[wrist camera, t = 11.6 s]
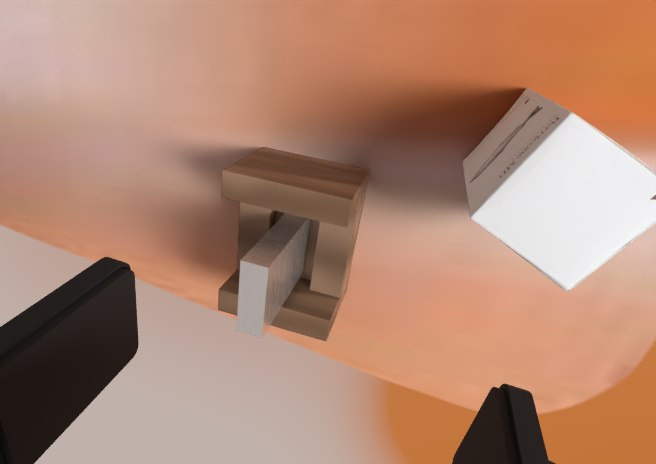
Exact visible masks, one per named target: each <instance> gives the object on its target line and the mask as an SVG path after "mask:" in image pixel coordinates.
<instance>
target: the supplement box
mask: <svg viewBox="0 0 656 464" xmlns="http://www.w3.org/2000/svg"><path fill="white" fill-rule="evenodd" d="M462 164H463V171H464V178H465V185H466V192H467V198H468V205H469V212H470V218H471V219H472V220H473V221H475V222H476V223H478V224H479V225H480V226H482V227H483V228H484V229H486V230H487V231H489V232H490V233H491V234H493V235H494V236H495V237H497V238H498V239H499V240H500V241H502V242H503V243H504V244H506V245H507V246H508V247H509V248H511V249H512V250H513V251H515V252H516V253H517V254H518V255H520V256H521V257H522V258H524V259H525V260H526V261H527V262H529V263H530V264H531V265H533V266H534V267H535V268H536V269H538V270H539V271H540V272H542V273H543V274H544V275H546V276H547V277H548V278H549V279H551V280H552V281H553V282H555V283H556V284H557V285H558V286H560V287H561V288H562V289H563V290H566V291H568V290H570V289H572V288H574V287H575V286H576V285H577V284H579V283H580V282H581V281H582V280H584V279H585V278H586V277H587V276H588V275H590V274H591V273H592V272H594V271H595V270H596V269H597V268H599V267H600V266H601V265H602V264H604V263H605V262H606V261H607V260H609V259H610V258H611V257H613V256H614V255H615V254H616V253H618V252H619V251H620V250H622V249H623V248H625V247H626V246H627V245H628V244H630V243H631V242H632V241H633V240H634V239H635V238H637V237H638V236H639V235H640V234H642V233H643V232H644V231H645V230H647V229H648V228H649V227H650V226H652V225H653V224H654V223H656V171H654V170H653V169H652V168H650V167H649V166H648V165H646V164H645V163H644V162H642V161H641V160H640V159H638V158H637V157H636V156H634V155H633V154H632V153H630V152H629V151H627V150H626V149H625V148H623V147H622V146H621V145H619V144H618V143H616V142H615V141H614V140H612V139H611V138H609V137H608V136H606V135H605V134H604V133H602V132H601V131H599V130H598V129H596V128H595V127H593V126H592V125H590V124H589V123H587V122H586V121H584V120H583V119H581V118H580V117H578V116H577V115H576V114H574V113H573V112H571V111H569V110H567V109H565V108H564V107H562V106H560V105H558V104H557V103H555V102H553V101H551V100H549V99H547V98H545V97H544V96H542V95H540V94H538V93H536V92H534V91H533V90H531V89H529V88H527V89H526V90H525V91H524V92H523V93H522V95H521V96H520V97H519V98H518V100H517V101H516V102H515V103H514V105H513V106H512V107H511V108H510V109H509V111H508V112H507V113H506V114H505V115H504V117H503V118H502V119H501V120H500V121H499V122H498V123H497V125H496V126H495V127H494V128H493V129H492V130H491V131H490V133H489V134H488V135H487V136H486V137H485V138H484V139H483V140H482V141H481V143H480V144H479V145H478V146H477V147H476V148H475V149H474V150H473V151H472V152H471V153H470V154H469V156H468V157H467V158H466V159H465V160H464V161H463V162H462Z"/></svg>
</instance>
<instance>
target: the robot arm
mask: <svg viewBox="0 0 656 464" xmlns="http://www.w3.org/2000/svg"><path fill="white" fill-rule="evenodd" d="M137 349H138V328H137V310H136V292H135V275H134V272H133V271H131V269H130V266H129V264H127V263H125V262H122V261H118V260H115V259H112V258H109V257H104V258H102V259H100V260H99V261H97V262H96V263H94V264H93V265H91V266H90V267H88V268H87V269H85V270H84V271H82V272H81V273H79V274H78V275H76V276H75V277H74V278H72V279H71V280H69V281H68V282H66V283H65V284H63V285H62V286H60V287H59V288H58V289H56V290H54V291H53V292H52V293H50V294H48V295H47V296H45V297H44V298H43V299H41V300H40V301H38V302H37V303H35V304H34V305H32V306H31V307H29V308H28V309H26V310H25V311H23V312H22V313H20V314H19V315H18V316H16V317H14V318H13V319H12V320H10V321H9V322H7V323H6V324H4V325H3V326H1V327H0V464H34V463H35V462H36V461H37V460H38V458H40V457H41V455H42V454H43V453H44V452H45V451H46V450H47V449H48V448H49V447H50V446H51V445H52V444H53V443H54V442H55V440H56V439H57V438H58V437H59V436H60V435H61V434H62V433H63V432H64V431H65V430H66V429H67V428H68V427H69V426H70V424H71V423H72V422H73V421H74V420H75V419H76V418H77V417H78V416H79V415H80V414H81V413H82V412H83V411H84V409H85V408H86V407H87V406H88V405H89V404H90V403H91V402H92V401H93V400H94V399H95V398H96V397H97V396H98V395H99V393H100V392H101V391H102V390H103V389H104V388H105V387H106V386H107V385H108V384H109V383H110V382H111V381H112V380H113V378H114V377H115V376H116V375H117V374H118V373H119V372H120V371H121V370H122V369H123V368H124V367H125V366H126V364H128V362H129V361H130V360H131V359H132V358H133V357H134V355H135V354H136V352H137ZM452 464H555V463H553V462H551V461H549V460H548V457H547V453H546V449H545V445H544V441H543V437H542V433H541V428H540V425H539V420H538V416H537V412H536V408H535V404H534V400H533V397H532V394H531V393H530V392H529V391H526V390H523V389H520V388H517V387H514V386H511V385H508V384H502V385H501V386H500V388H496V387H493V388H492V389H491V390H490V392H489V394H488V396H487V397H486V399H485V401H484V403H483V405H482V406H481V408H480V410H479V412H478V414H477V415H476V417H475V419H474V421H473V423H472V424H471V426H470V428H469V430H468V432H467V433H466V435H465V437H464V439H463V441H462V442H461V444H460V446H459V448H458V450H457V451H456V453H455V455H454V458H453V463H452Z"/></svg>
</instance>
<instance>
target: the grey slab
mask: <svg viewBox="0 0 656 464" xmlns="http://www.w3.org/2000/svg"><path fill="white" fill-rule="evenodd" d="M310 222H311V219H309V218H304V217H300V216H296V215H292V214H288V213H285V214H284V215H283V216H282V217H281V218H280V219H279V220H278V221H277V222H276V224H275V225H274V226H273V227H272V228H271V229H270V230H269V231H268V232H267V233H266V234H265V235H264V236H263V237H262V238H261V239H260V240H259V241H258V242H257V243H256V245H255V246H254V247H253V248H252V249H251V250H250V251H249V252H248V253H247V254H246V255H245V256H244V257H243V258H242V259H241V260H240V277H239V294H238V311H237V331H240V332H243V333H246V334H249V335H253V336H256V337H259V338H262V337H263V336H264V334H265V333H266V331H267V329H268V328H269V326H270V325H271V323H272V321H273V320H274V318H275V316H276V315H277V313H278V312H279V310H280V308H281V307H282V305H283V304H284V302H285V300H286V299H287V297H288V296H289V294H290V292H291V291H292V289H293V288H294V286H295V284H296V283H297V281H298V280H299V278H300V276H301V275H302V273H303V272H304V265H305V258H306V251H307V244H308V237H309V229H310Z"/></svg>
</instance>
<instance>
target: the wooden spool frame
mask: <svg viewBox="0 0 656 464" xmlns="http://www.w3.org/2000/svg"><path fill="white" fill-rule="evenodd" d="M369 172H370V170H367V169H363V168H358V167H354V166H349V165H344V164H340V163H335V162H330V161H326V160H321V159H316V158H312V157H307V156H302V155H298V154H293V153H289V152H284V151H279V150H275V149H270V148H265V147H263V148H261V149H260V150H258V151H256V152H254V153H252V154H251V155H249V156H247V157H245V158H243V159H242V160H240V161H238V162H236V163H234V164H233V165H231V166H229V167H227V168H225V169H224V170H222V195H221V197H222V198H226V199H230V200H234V201H238V202H240V218H239V238H238V257H237V270H236V271H235V273H234V274H233V275H232V276H231V277H230V278H229V279H228V280H227V281H226V282H225V283H224V284H223V285H222V287H221V288H220V289H219V298H218V310H220V311H223V312H227V313H230V314H234V315H237V311H238V294H239V277H240V260H241V259H242V258H243V257H244V256H245V255H246V254H247V253H248V252H249V251H250V250H251V249H252V248H253V247H254V246H255V245H256V243H257V242H258V241H259V240H260V239H261V238H262V237H263V236H264V235H265V234H266V233H267V232H268V231H269V230H270V229H271V228H272V227H273V226H274V225H275V224H276V222H277V221H278V220H279V219H280V218H281V217H282V216H283V215H284V214H285V213H288V214H292V215H296V216H300V217H304V218H309V219H311V222H310V229H309V237H308V244H307V251H306V258H305V265H304V272H303V273H302V275H301V276H300V278H299V280H298V281H297V283H296V284H295V286H294V288H293V289H292V291H291V292H290V294H289V296H288V297H287V299H286V300H285V302H284V304H283V305H282V307H281V308H280V310H279V312H278V313H277V315H276V316H275V318H274V320H273V321H272V323H271V326H275V327H278V328H282V329H285V330H289V331H292V332H296V333H299V334H302V335H306V336H309V337H313V338H316V339H320V340H323V341H326V340H327V338H328V335H329V333H330V330H331V328H332V325H333V323H334V320H335V318H336V315H337V313H338V310H339V308H340V305H341V303H342V300H343V298H344V295H345V293H346V289H347V284H348V279H349V273H350V268H351V263H352V258H353V253H354V248H355V243H356V238H357V233H358V228H359V223H360V217H361V212H362V207H363V202H364V197H365V192H366V187H367V182H368V177H369Z"/></svg>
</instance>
